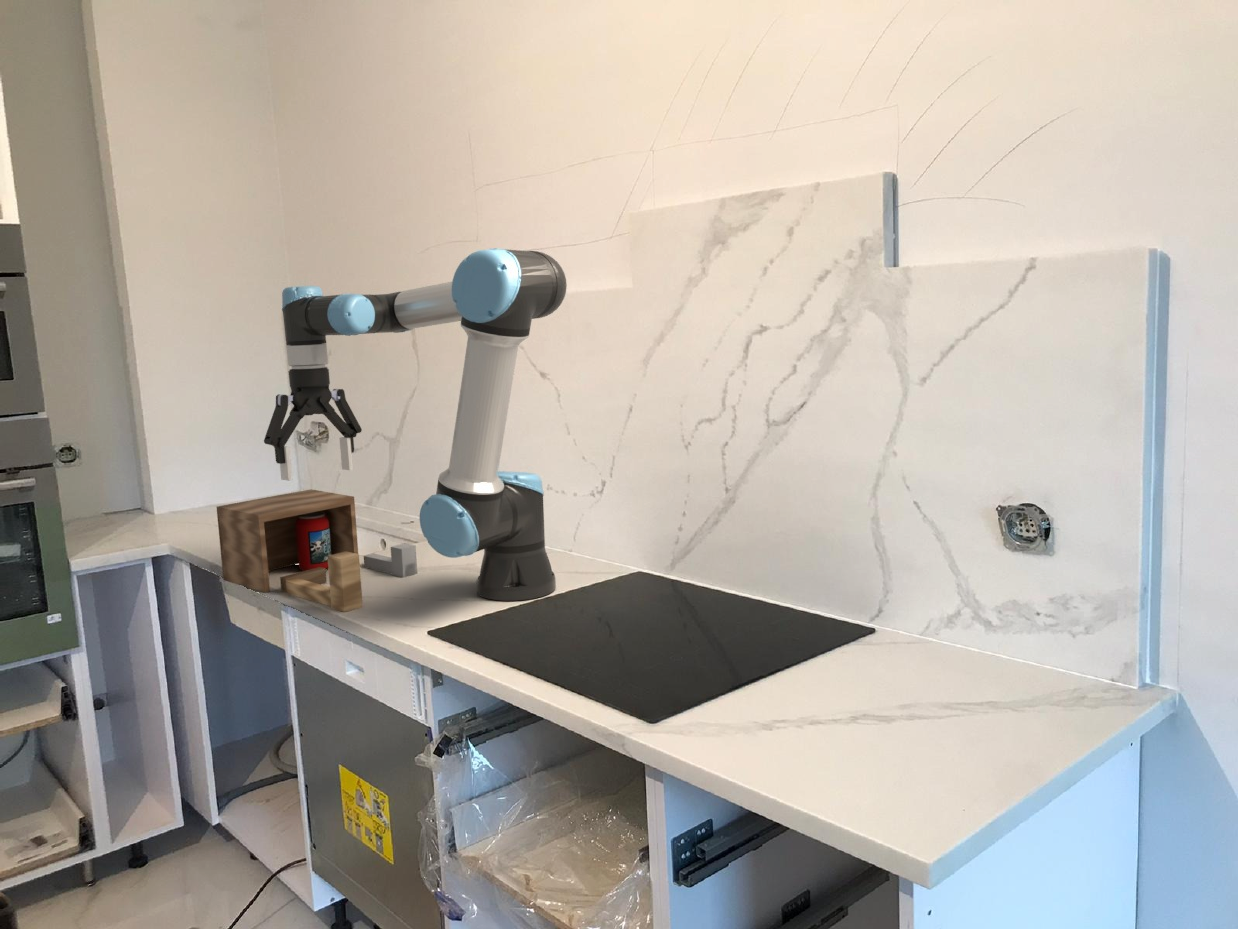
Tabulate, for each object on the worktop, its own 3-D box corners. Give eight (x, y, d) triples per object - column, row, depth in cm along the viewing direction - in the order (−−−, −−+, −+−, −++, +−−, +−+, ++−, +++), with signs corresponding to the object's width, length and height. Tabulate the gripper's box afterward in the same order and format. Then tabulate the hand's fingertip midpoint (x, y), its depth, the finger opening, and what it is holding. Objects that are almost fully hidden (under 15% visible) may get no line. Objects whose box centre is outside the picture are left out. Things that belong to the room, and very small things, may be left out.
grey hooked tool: (417, 573, 207) (415, 545, 206) (403, 577, 204) (401, 549, 203) (376, 564, 216) (374, 536, 215) (362, 567, 213) (360, 540, 212)
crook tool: (388, 599, 189) (384, 547, 187) (344, 612, 182) (340, 558, 180) (321, 581, 203) (317, 533, 201) (277, 592, 196) (273, 543, 194)
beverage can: (322, 574, 208) (318, 518, 206) (293, 573, 210) (288, 517, 208) (338, 565, 215) (333, 511, 213) (309, 565, 216) (304, 510, 214)
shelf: (359, 568, 212) (354, 496, 210) (265, 592, 196) (258, 515, 193) (316, 557, 223) (310, 489, 220) (223, 580, 206) (216, 506, 203)
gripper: (352, 362, 206) (360, 464, 209) (238, 371, 187) (249, 482, 191) (373, 362, 201) (381, 466, 204) (258, 371, 183) (269, 486, 186)
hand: (317, 474), depth 197 cm, fingers open, 13 cm apart
